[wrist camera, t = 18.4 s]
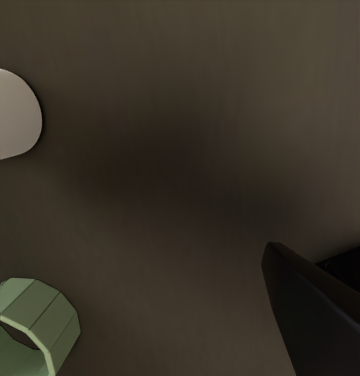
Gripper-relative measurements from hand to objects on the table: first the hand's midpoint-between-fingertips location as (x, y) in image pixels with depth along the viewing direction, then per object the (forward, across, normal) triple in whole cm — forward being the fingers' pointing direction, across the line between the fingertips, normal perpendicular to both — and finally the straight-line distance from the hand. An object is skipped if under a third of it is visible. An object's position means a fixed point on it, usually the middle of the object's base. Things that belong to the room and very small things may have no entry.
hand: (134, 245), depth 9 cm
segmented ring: (+12, +11, +19) cm, 25 cm away
